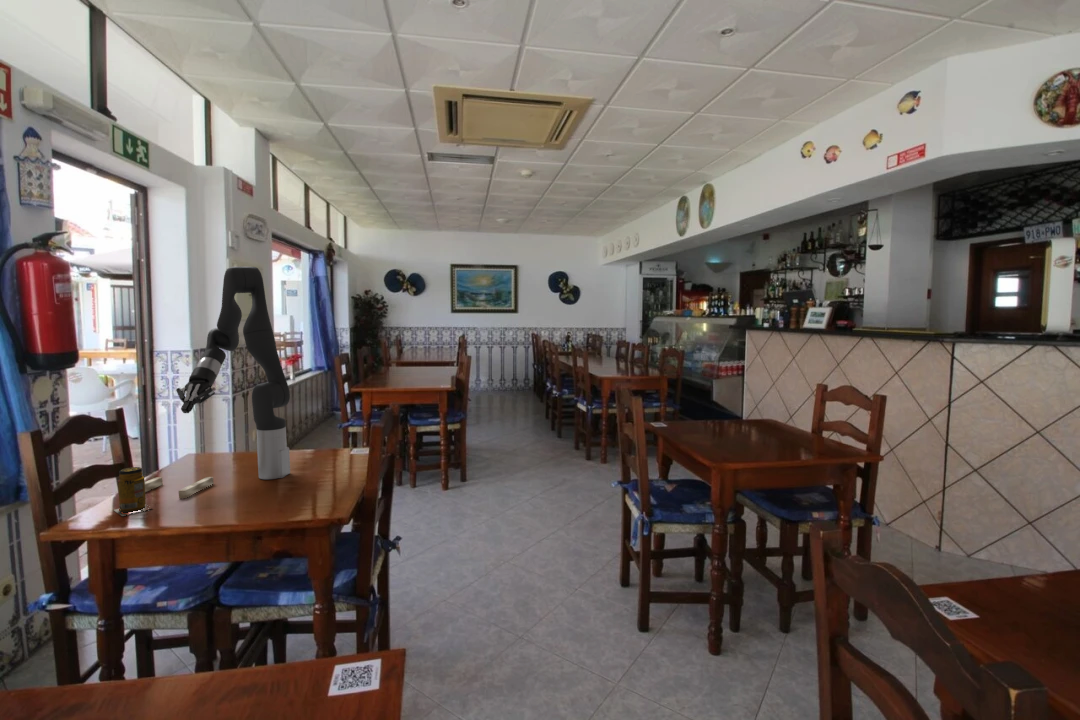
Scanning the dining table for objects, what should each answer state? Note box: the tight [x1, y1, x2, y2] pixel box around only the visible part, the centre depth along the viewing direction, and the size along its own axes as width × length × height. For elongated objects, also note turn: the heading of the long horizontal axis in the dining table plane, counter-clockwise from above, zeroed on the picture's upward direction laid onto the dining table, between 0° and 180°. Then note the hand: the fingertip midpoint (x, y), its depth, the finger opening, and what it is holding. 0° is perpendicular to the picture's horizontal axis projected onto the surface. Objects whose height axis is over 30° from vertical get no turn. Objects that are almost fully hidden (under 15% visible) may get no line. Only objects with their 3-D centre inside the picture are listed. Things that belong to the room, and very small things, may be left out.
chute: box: [145, 476, 214, 499], centre depth 166 cm, size 14×19×2 cm
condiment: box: [113, 466, 149, 517], centre depth 149 cm, size 7×8×12 cm
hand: (184, 411), depth 176 cm, fingers closed
